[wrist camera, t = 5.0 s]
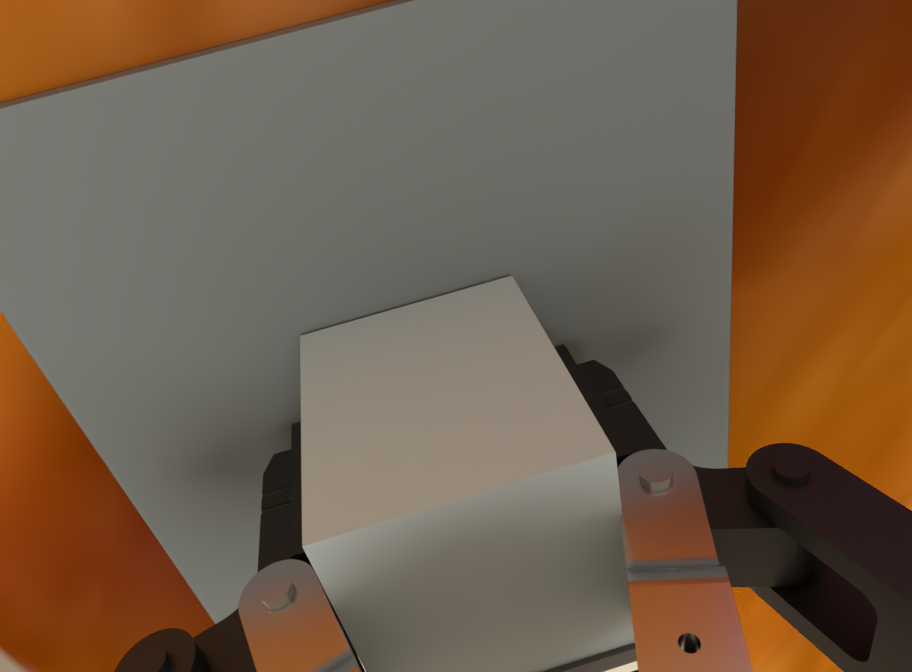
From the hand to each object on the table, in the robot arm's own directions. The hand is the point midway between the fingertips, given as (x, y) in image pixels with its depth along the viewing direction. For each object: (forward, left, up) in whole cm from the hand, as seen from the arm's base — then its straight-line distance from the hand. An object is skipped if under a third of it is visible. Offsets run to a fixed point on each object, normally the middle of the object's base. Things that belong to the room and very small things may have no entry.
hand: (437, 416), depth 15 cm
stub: (0, 0, -1) cm, 1 cm away
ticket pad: (0, +3, -1) cm, 3 cm away
